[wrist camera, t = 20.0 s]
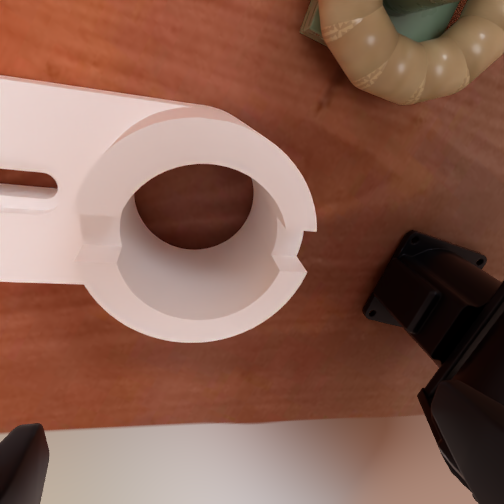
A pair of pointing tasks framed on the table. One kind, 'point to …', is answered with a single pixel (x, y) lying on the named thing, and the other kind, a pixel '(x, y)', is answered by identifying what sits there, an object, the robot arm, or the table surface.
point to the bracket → (127, 217)
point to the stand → (398, 18)
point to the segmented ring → (411, 49)
